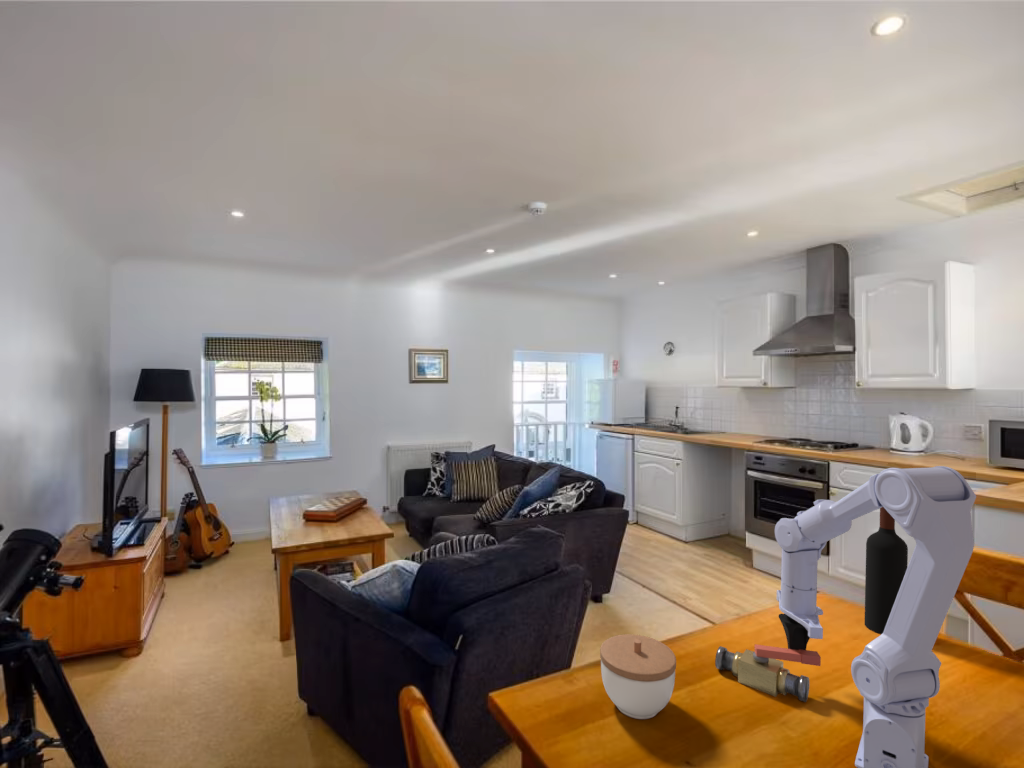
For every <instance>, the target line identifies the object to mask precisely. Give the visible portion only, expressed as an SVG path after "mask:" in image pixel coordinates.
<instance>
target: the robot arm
mask: <svg viewBox="0 0 1024 768" xmlns="http://www.w3.org/2000/svg"><path fill="white" fill-rule="evenodd" d="M976 499H977V495H976V493H975V492H974V491H973V489H972V488H971V486H970V485H969V483H968V482H967V480H966V478H965V477H964V476H963V475H962V474H961V473H960V472H959V471H957V470H956V469H954V468H951V467H949V466H945V465H936V466H933V467H913V468H912V467H910V468H909V467H908V468H907V467H906V468H900V467H889V468H885V469H883V470H881V471H880V472H879V473H875V474H873V475H870V476H869V479H868V480H867V481H866V482H864V483H863V484H861V485H859V486H858V487H856V489H853V490H852V491H851V492H849V493H848V494H846V495H845V496H844V497H841V499H839V500H837V501H835V500H831V499H824V498H823V499H816V500H815V501H813V505H814V506H811V507H810V508H808V509H806V510H800V511H798V512H797V513H796V516H795V517H794V518H789V517H788V518H787V517H782V518H780V519H779V520H778V521H777V522H776V524H775V526H774V538H775V540H776V542H777V545H779V547H780V548H781V565H780V566H781V569H780V571H781V573H780V590H779V589H777V590H776V601H777V602H778V608H779V611H780V612H781V613H780V614H778V619H779V620H780V623H781V625H782V627H783V631H784V633H785V637H786V642H787V649H794V650H799V649H801V650H807V646H808V643H809V640H810V639H815V640H823V638H824V627H822V625H821V623H820V617H819V616H823V615H824V610H823V609H821V607H819V606H817V600H818V599H817V598H818V597H817V594H818V562H819V560H820V559H821V557H822V556H821V555H822V550H823V549H824V548H825V547H826V545H827V542H828V541H831V540H833V539H835V538H837V537H839V536H841V535H843V534H845V533H848V532H850V530H851V528H852V523H853V521H854V520H855V519H858V518H861V517H862V516H865V515H867V514H871V513H872V512H874V511H877V510H880V508H882V507H884V508H885V509H886V510H887V512H888V513H889V514H890V515H891V516H892V517H893V518H894V519H895V523H897V524H898V525H899V526H900V527H901V529H902V530H903V531H904V532H905V533H906V534H907V535H908V536H910V537H912V539H914V541H915V543H916V544H915V546H914V549H913V551H912V554H911V557H910V560H909V561H908V562H909V563H908V564H907V570H906V573H905V575H904V578H903V581H902V584H901V586H900V589H899V592H898V594H897V597H896V600H895V602H894V605H893V608H892V610H891V613H890V616H889V618H888V621H887V624H886V626H885V629H884V632H883V633H882V634H879V636H877V637H875V638H874V639H873V640H871V641H869V643H868V644H866V645H865V646H864V649H863V651H862V652H861V654H859V655H858V656H855V657H854V658H853V660H852V662H851V666H850V672H851V677H852V680H853V683H854V684H855V686H856V688H857V690H858V692H859V694H860V696H862V697H863V719H862V721H863V724H862V735H861V737H860V741H859V745H858V750H857V753H856V756H855V761H854V766H855V767H856V768H929V758H930V757H929V756H928V755H927V754H926V753H925V744H926V742H925V741H926V739H925V738H926V733H925V732H926V709H927V707H929V703H930V699H931V698H934V697H936V696H937V695H938V694H939V691H940V688H941V687H940V686H941V685H940V684H941V683H940V676H939V674H940V672H939V670H940V669H941V666H942V662H941V661H940V659H939V658H938V657H937V655H936V654H935V653H934V652H933V648H934V645H935V643H936V641H937V639H938V636H939V634H940V631H941V629H942V626H943V623H944V622H945V619H946V617H947V615H948V612H949V609H950V607H951V604H952V602H953V600H954V597H955V595H956V593H957V590H958V588H959V585H960V583H961V580H962V578H963V576H964V573H965V571H966V568H967V567H968V564H969V561H970V559H971V557H972V554H973V553H974V547H975V543H974V542H975V541H974V532H973V531H974V530H973V524H972V515H971V511H972V509H973V506H974V505H975V501H976Z"/></svg>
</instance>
